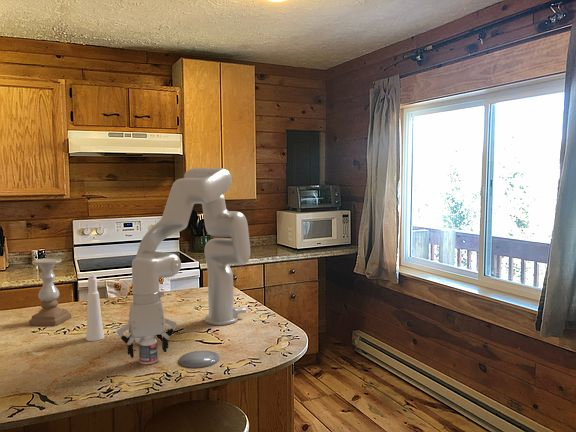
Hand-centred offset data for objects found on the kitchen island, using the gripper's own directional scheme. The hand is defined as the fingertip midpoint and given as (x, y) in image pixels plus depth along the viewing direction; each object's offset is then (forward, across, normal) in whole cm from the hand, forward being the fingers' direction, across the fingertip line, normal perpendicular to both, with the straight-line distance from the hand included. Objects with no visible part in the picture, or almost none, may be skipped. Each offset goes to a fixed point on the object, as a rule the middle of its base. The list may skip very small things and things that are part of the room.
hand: (148, 353), depth 146 cm
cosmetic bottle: (+3, +13, -29) cm, 32 cm away
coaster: (+2, -14, +6) cm, 15 cm away
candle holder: (+3, +27, -57) cm, 63 cm away
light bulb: (+3, 0, -16) cm, 16 cm away
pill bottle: (+3, 0, 0) cm, 3 cm away
